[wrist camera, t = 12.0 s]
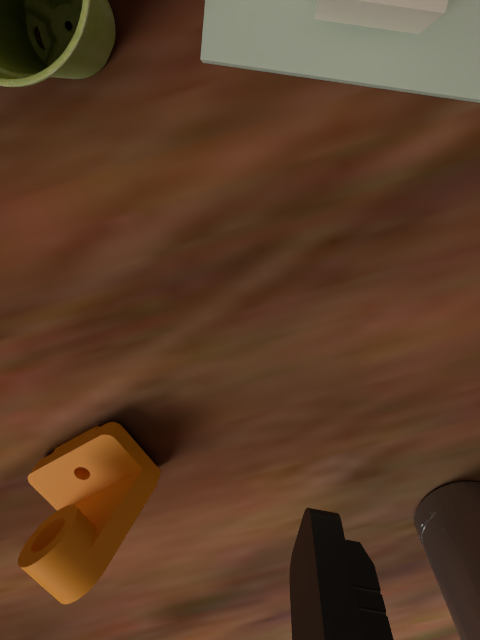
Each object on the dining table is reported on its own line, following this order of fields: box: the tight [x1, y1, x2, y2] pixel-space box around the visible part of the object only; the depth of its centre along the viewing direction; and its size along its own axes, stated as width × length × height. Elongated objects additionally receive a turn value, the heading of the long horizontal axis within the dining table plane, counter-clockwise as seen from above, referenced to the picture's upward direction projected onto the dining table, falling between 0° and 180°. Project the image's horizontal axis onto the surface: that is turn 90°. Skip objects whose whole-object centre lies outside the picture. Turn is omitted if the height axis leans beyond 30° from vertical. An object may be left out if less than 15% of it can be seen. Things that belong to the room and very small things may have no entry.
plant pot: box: [0, 0, 115, 87], centre depth 23 cm, size 9×9×9 cm
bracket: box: [18, 422, 161, 604], centre depth 36 cm, size 11×7×12 cm, turn 122°
